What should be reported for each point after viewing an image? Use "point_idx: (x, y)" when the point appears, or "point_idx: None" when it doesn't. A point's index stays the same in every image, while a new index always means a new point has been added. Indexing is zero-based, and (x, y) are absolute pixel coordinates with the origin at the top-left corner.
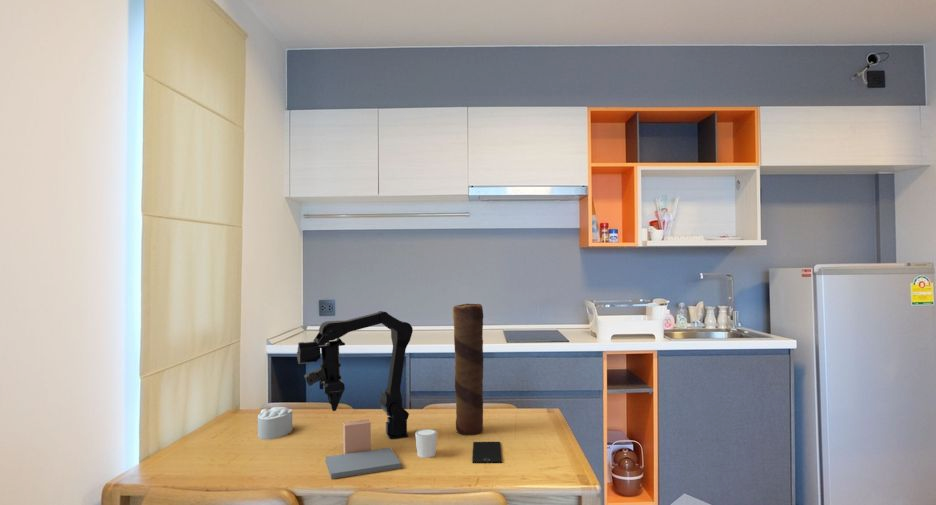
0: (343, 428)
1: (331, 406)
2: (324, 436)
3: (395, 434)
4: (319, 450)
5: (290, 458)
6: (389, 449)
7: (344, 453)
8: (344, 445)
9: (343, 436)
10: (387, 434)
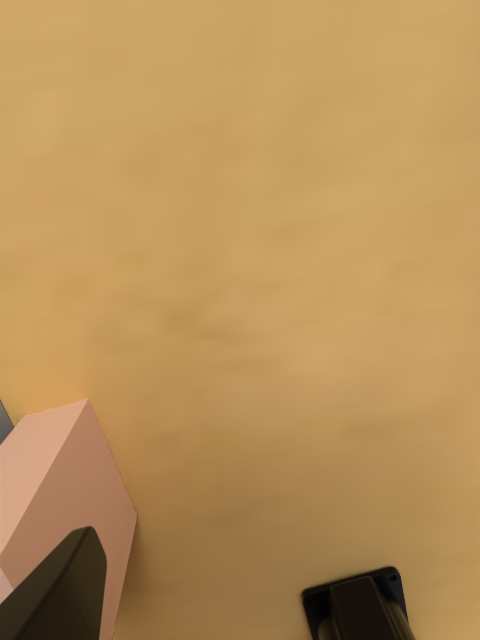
0: (8, 520)
1: (25, 587)
2: (461, 229)
3: (320, 626)
4: (174, 240)
5: (19, 46)
6: None
7: (46, 417)
8: (19, 448)
9: (44, 468)
10: (334, 591)
